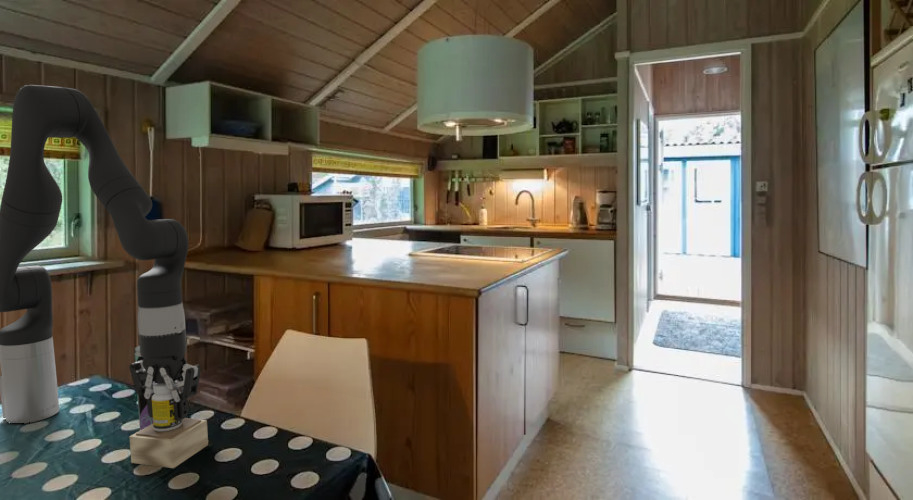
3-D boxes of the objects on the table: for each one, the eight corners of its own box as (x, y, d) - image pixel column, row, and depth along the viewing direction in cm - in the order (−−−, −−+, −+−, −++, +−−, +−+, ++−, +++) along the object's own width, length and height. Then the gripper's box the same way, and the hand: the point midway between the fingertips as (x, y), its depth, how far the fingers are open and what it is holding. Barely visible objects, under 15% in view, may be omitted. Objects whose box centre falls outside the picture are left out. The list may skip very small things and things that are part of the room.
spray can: (147, 437, 105) (140, 340, 103) (135, 430, 109) (128, 336, 107) (175, 428, 110) (169, 334, 108) (163, 421, 113) (156, 330, 111)
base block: (131, 462, 96) (129, 434, 95) (168, 440, 104) (167, 414, 104) (173, 468, 94) (171, 439, 93) (208, 444, 102) (206, 418, 102)
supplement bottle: (173, 432, 96) (170, 387, 95) (148, 432, 96) (144, 387, 95) (187, 421, 101) (184, 378, 100) (163, 421, 101) (160, 378, 100)
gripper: (112, 331, 94) (119, 422, 96) (180, 336, 91) (186, 430, 93) (145, 321, 102) (151, 406, 104) (210, 325, 98) (215, 413, 100)
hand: (168, 417), depth 98 cm, fingers open, 5 cm apart
